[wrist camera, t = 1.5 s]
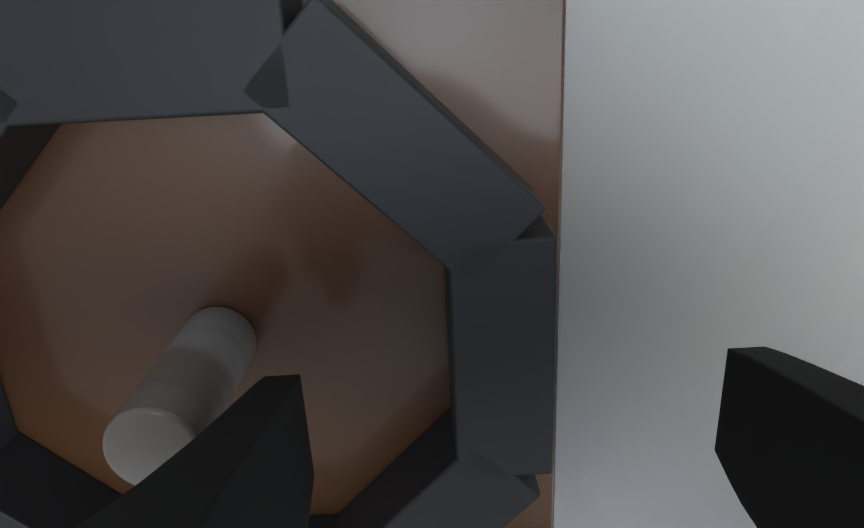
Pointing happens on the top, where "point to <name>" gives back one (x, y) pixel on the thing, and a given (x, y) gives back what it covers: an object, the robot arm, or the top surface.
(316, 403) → the stand
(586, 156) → the top surface
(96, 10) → the headband ring
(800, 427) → the robot arm
